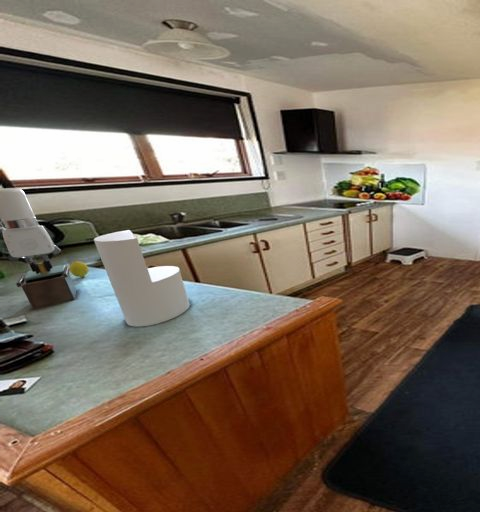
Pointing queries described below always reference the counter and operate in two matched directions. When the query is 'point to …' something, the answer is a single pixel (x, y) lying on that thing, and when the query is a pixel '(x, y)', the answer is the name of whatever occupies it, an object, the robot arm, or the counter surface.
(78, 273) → the lemon
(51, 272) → the slide door
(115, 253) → the white stepped drum
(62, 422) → the counter surface
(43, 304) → the storage box
